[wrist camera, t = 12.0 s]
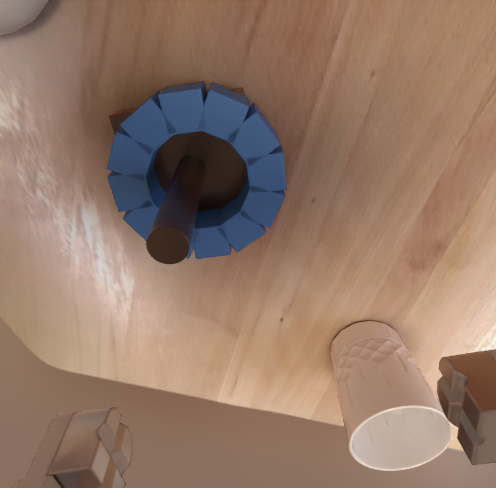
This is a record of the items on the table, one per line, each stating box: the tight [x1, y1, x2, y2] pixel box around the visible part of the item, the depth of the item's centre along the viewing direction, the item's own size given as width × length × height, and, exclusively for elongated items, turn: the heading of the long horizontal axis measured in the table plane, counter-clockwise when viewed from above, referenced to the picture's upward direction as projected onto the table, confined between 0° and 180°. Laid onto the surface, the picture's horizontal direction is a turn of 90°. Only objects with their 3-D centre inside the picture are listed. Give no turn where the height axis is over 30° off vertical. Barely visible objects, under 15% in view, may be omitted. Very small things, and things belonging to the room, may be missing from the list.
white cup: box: [330, 321, 454, 471], centre depth 34 cm, size 8×8×10 cm
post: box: [109, 88, 248, 264], centre depth 24 cm, size 9×9×12 cm
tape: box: [107, 82, 287, 259], centre depth 26 cm, size 11×11×3 cm
